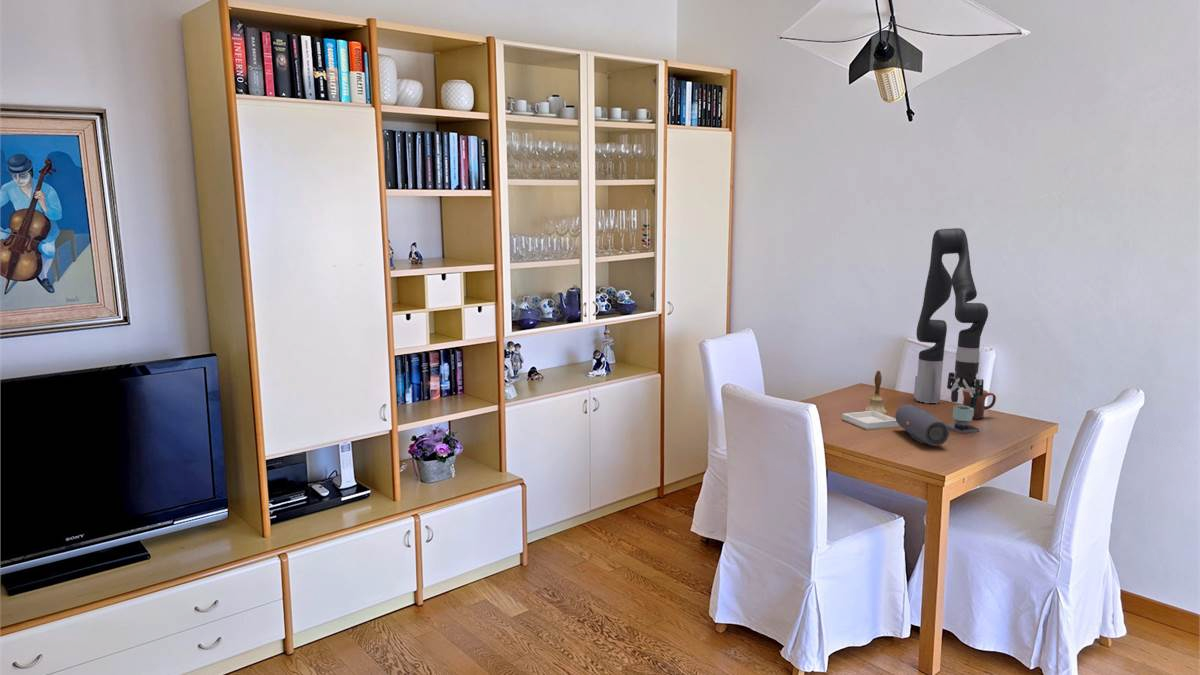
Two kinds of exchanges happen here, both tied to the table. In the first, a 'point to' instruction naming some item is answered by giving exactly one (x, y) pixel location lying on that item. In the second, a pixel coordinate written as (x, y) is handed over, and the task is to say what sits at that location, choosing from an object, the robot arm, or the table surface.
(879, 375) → the hand bell
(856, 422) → the tray
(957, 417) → the ring
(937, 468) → the table surface
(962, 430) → the stand
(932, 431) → the bluetooth speaker
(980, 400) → the mug
